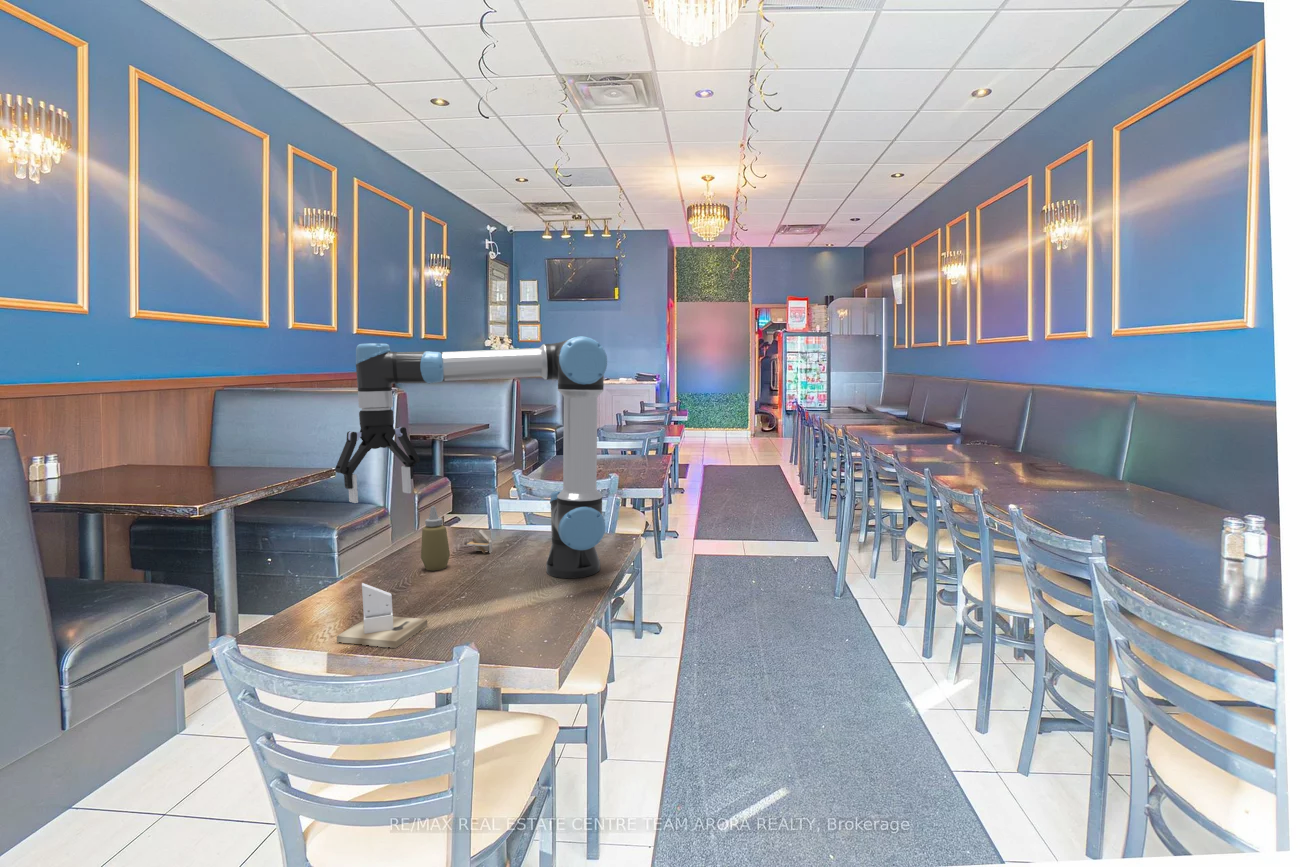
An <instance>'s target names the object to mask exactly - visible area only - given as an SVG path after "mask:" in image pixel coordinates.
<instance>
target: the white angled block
mask: <svg viewBox="0 0 1300 867" xmlns="http://www.w3.org/2000/svg"><path fill="white" fill-rule="evenodd" d="M361 590H362V591H361V592H362V593H361V594H362V607H363V608H362V609H363V620H364V633H365V634H366V633H373V632H379V631H386V630H392V629H393V617H394V616H393V615H394V614H393V600H392V599H393V598H392V593H390V592H388V591H385V590H382V589H381V588H378V587H375V586H372V585H370V584H366V583H364V582H361Z"/></svg>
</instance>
